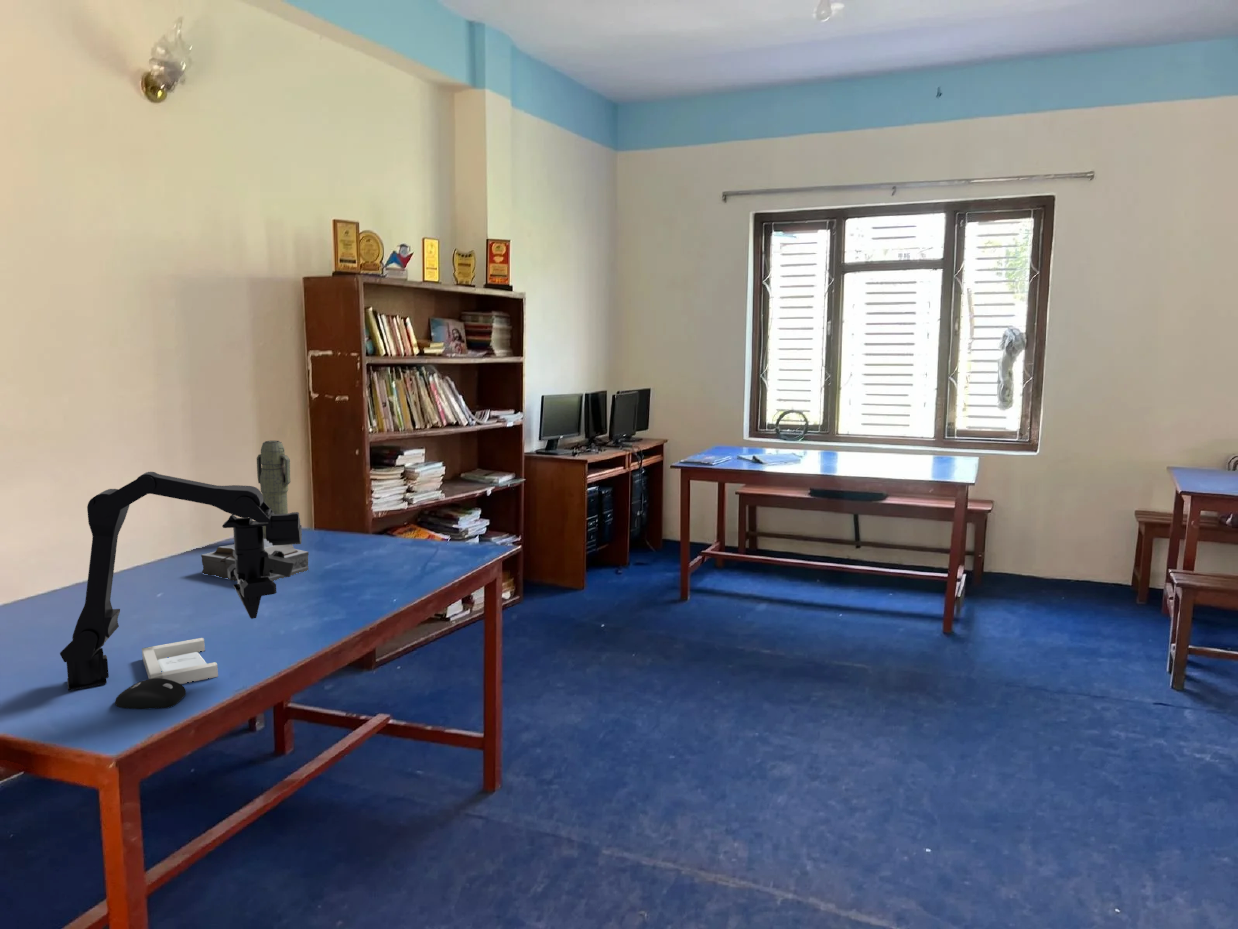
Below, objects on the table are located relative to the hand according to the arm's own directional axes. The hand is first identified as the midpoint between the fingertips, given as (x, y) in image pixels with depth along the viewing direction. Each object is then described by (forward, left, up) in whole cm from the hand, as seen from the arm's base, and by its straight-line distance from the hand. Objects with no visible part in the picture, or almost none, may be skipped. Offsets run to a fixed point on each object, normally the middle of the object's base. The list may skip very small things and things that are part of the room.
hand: (253, 618), depth 172 cm
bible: (+15, +77, -12) cm, 79 cm away
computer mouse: (-21, -6, -12) cm, 24 cm away
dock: (-14, +9, -11) cm, 19 cm away
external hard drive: (-13, +8, -12) cm, 19 cm away
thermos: (+30, +116, -11) cm, 120 cm away
